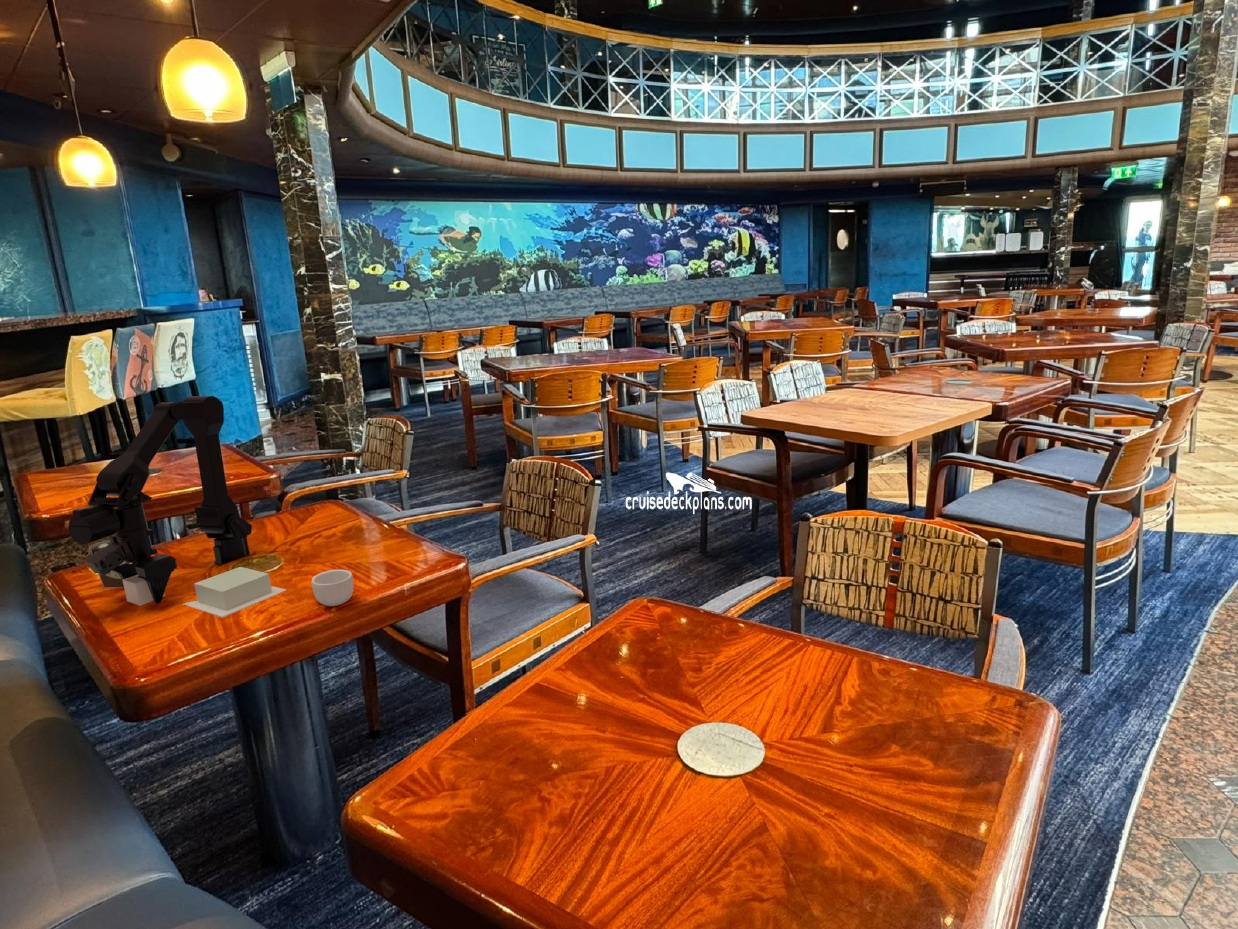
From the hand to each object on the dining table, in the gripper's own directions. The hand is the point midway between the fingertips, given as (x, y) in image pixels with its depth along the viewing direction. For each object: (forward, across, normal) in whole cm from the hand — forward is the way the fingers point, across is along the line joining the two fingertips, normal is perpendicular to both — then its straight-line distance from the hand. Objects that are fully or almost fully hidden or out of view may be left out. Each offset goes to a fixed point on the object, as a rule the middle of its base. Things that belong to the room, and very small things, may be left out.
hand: (146, 599), depth 153 cm
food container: (+1, -16, +5) cm, 17 cm away
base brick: (0, +17, +9) cm, 19 cm away
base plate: (+1, +17, +9) cm, 19 cm away
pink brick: (+1, 0, 0) cm, 1 cm away
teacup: (+1, +36, +18) cm, 40 cm away
